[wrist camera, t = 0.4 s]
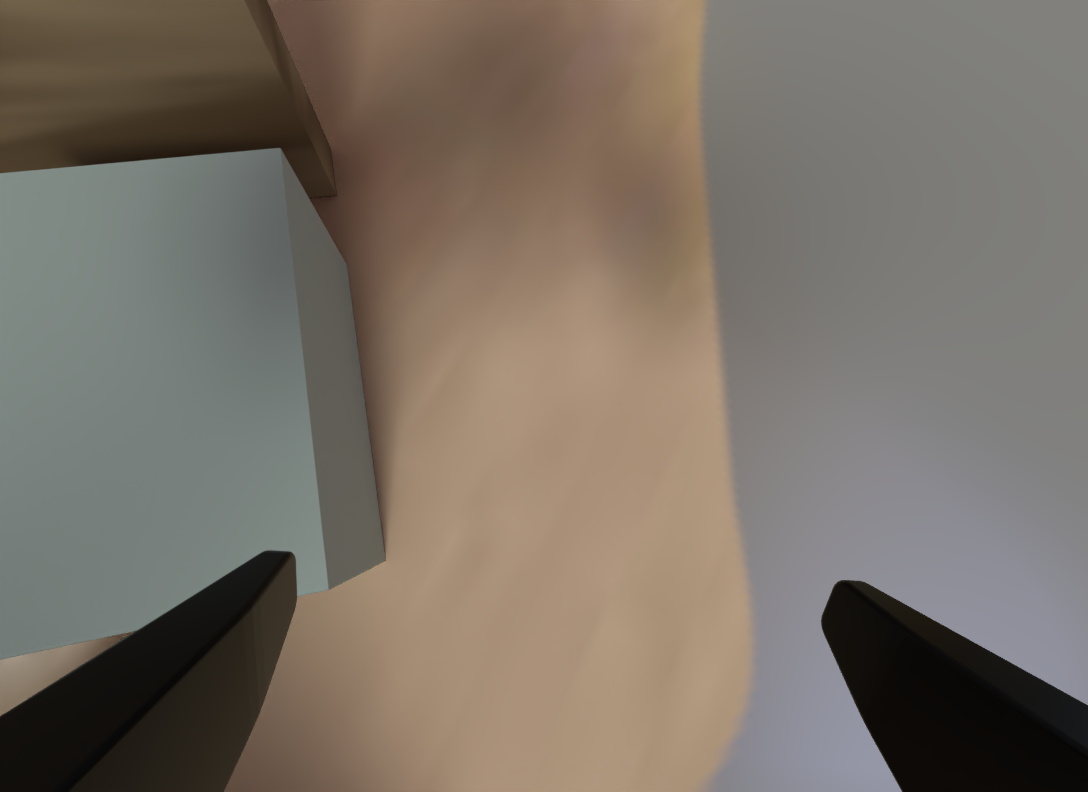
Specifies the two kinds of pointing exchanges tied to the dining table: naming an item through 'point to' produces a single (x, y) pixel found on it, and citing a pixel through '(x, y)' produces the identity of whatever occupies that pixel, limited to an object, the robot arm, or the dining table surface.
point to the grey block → (171, 392)
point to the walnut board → (152, 85)
